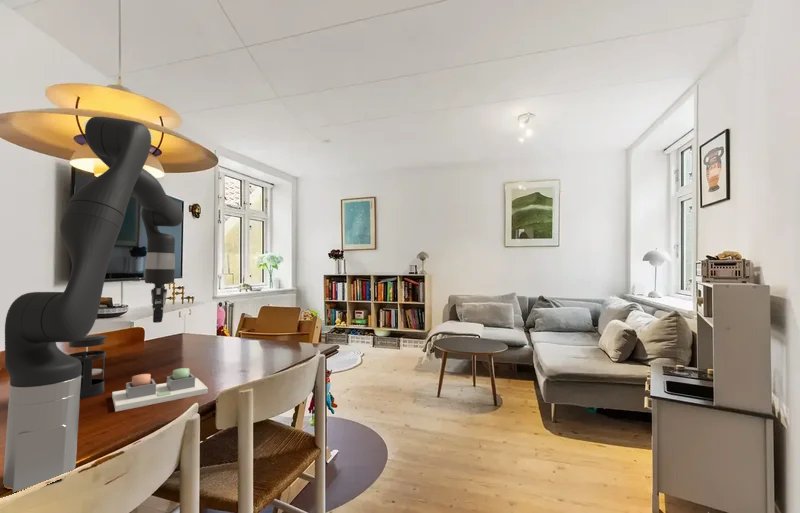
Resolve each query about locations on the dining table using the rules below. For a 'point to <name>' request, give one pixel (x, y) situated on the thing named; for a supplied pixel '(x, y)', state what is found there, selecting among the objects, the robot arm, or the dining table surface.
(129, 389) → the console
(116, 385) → the dining table surface
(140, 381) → the terracotta button
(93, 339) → the french press
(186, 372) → the sage button
